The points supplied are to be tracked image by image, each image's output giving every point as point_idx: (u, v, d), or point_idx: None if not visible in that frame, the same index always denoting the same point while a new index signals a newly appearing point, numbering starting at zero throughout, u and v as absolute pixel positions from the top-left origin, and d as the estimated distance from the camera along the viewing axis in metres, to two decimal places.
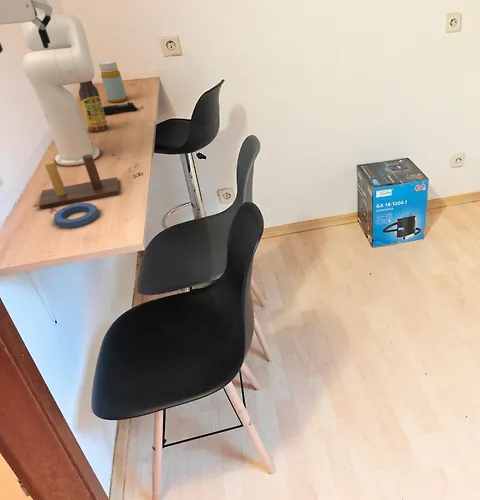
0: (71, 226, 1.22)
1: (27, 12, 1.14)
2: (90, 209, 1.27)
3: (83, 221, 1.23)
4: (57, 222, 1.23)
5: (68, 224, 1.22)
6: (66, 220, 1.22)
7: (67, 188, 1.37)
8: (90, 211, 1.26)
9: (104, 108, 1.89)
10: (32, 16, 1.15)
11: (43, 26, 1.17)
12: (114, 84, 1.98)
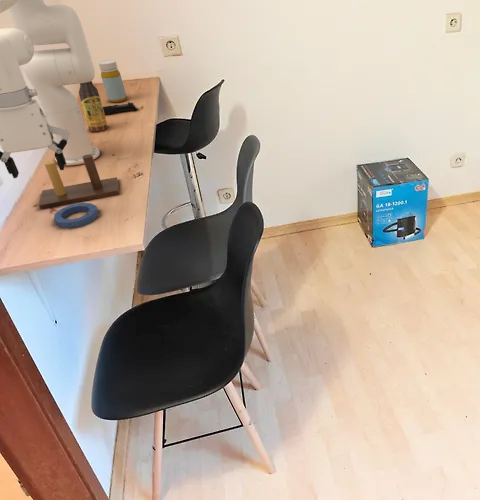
0: (71, 226, 1.22)
1: (44, 139, 1.13)
2: (90, 209, 1.27)
3: (83, 221, 1.23)
4: (57, 222, 1.23)
5: (68, 224, 1.22)
6: (66, 220, 1.22)
7: (67, 188, 1.37)
8: (90, 211, 1.26)
9: (104, 108, 1.89)
10: (49, 143, 1.14)
11: (59, 150, 1.16)
12: (114, 84, 1.98)
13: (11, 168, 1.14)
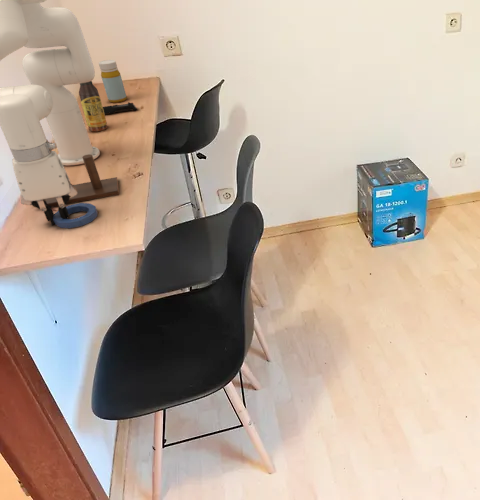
0: (70, 226, 1.22)
1: (62, 188, 1.20)
2: (89, 209, 1.27)
3: (82, 221, 1.23)
4: (56, 222, 1.23)
5: (67, 224, 1.22)
6: (65, 220, 1.22)
7: None
8: (89, 211, 1.26)
9: (104, 108, 1.89)
10: (67, 191, 1.21)
11: (63, 205, 1.23)
12: (114, 84, 1.98)
13: (50, 216, 1.22)
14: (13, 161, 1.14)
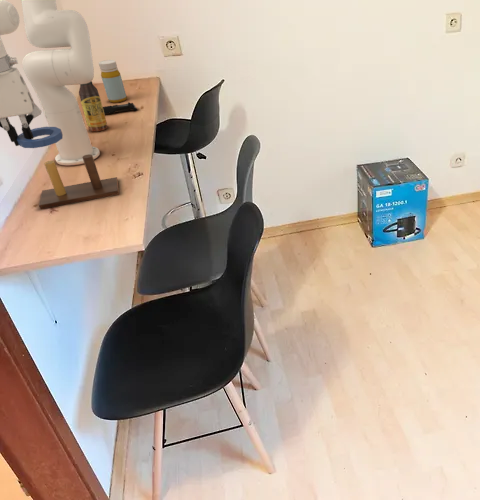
0: (34, 146, 1.21)
1: (25, 106, 1.19)
2: (54, 131, 1.26)
3: (46, 141, 1.22)
4: (20, 142, 1.22)
5: (31, 144, 1.21)
6: (29, 140, 1.21)
7: (67, 188, 1.37)
8: (54, 133, 1.25)
9: (103, 108, 1.89)
10: (30, 109, 1.20)
11: (26, 125, 1.22)
12: (114, 84, 1.98)
13: (13, 136, 1.21)
14: None
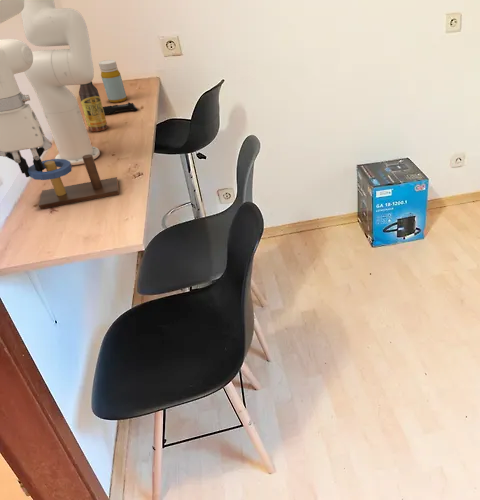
0: (44, 178, 1.27)
1: (36, 140, 1.24)
2: (64, 164, 1.32)
3: (56, 174, 1.28)
4: (31, 174, 1.27)
5: (41, 176, 1.27)
6: (40, 172, 1.27)
7: (67, 188, 1.37)
8: (64, 166, 1.31)
9: (103, 108, 1.89)
10: (41, 143, 1.25)
11: (37, 157, 1.27)
12: (114, 84, 1.98)
13: (24, 168, 1.27)
14: None
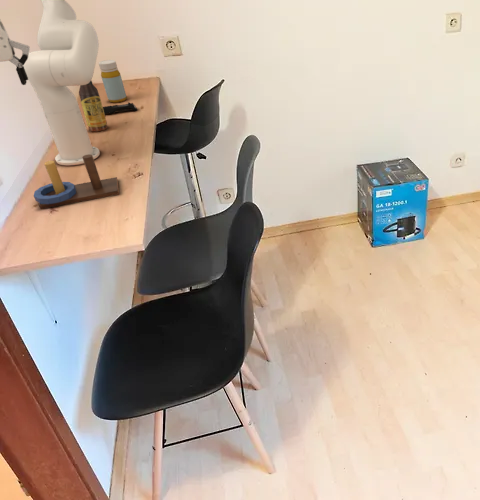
0: (50, 202, 1.30)
1: (5, 52, 1.19)
2: (68, 187, 1.35)
3: (61, 198, 1.31)
4: (37, 198, 1.31)
5: (47, 200, 1.30)
6: (45, 197, 1.30)
7: None
8: (68, 189, 1.34)
9: (103, 108, 1.89)
10: (10, 56, 1.20)
11: (21, 64, 1.22)
12: (114, 84, 1.98)
13: None
14: None
